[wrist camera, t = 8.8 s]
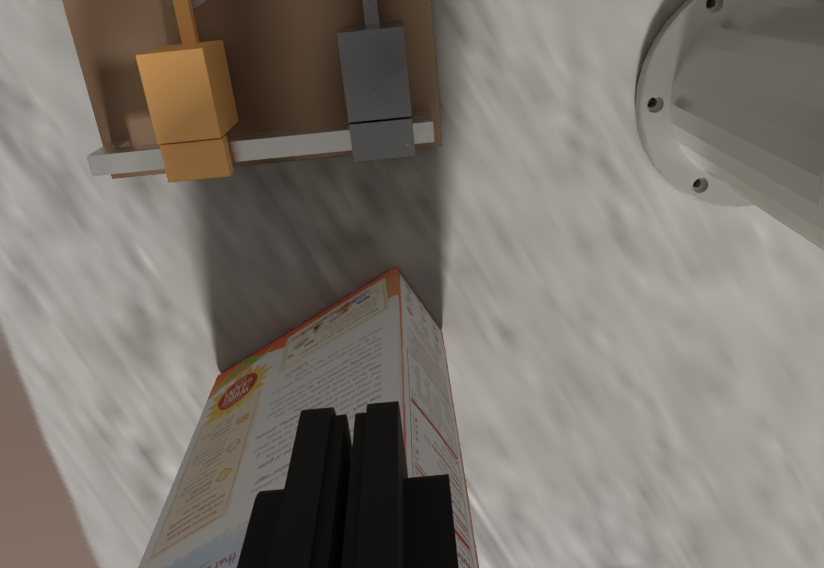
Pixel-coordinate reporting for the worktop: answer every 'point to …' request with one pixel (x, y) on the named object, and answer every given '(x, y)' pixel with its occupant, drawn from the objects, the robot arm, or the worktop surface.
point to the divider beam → (365, 134)
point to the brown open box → (244, 61)
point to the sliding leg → (190, 102)
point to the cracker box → (310, 389)
